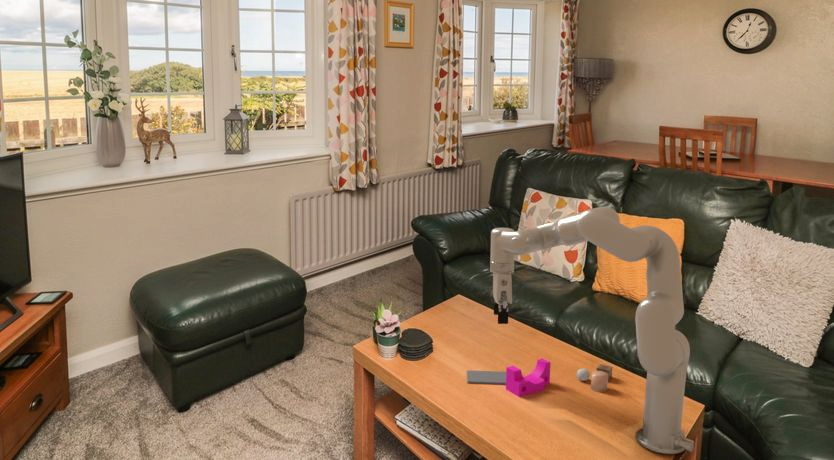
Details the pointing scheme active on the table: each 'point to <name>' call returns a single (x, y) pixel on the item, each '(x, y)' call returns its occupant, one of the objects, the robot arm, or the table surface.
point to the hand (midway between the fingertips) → (500, 318)
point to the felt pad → (486, 377)
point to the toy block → (528, 379)
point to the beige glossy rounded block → (599, 381)
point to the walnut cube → (605, 370)
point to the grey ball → (583, 374)
